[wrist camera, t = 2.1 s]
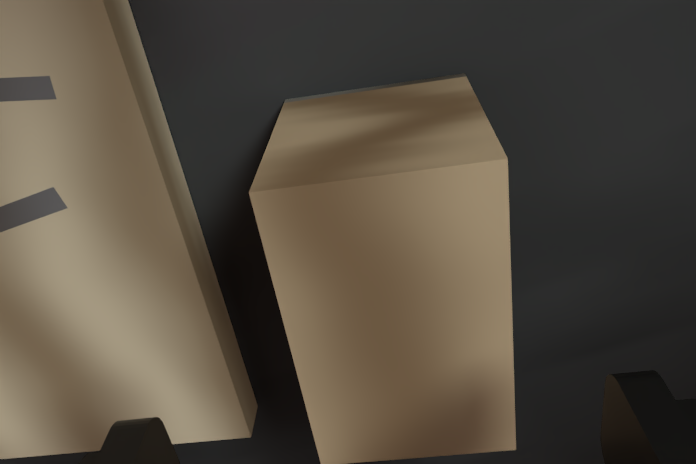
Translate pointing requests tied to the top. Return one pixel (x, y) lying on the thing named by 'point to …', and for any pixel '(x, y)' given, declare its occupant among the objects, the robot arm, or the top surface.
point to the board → (101, 246)
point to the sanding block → (393, 268)
